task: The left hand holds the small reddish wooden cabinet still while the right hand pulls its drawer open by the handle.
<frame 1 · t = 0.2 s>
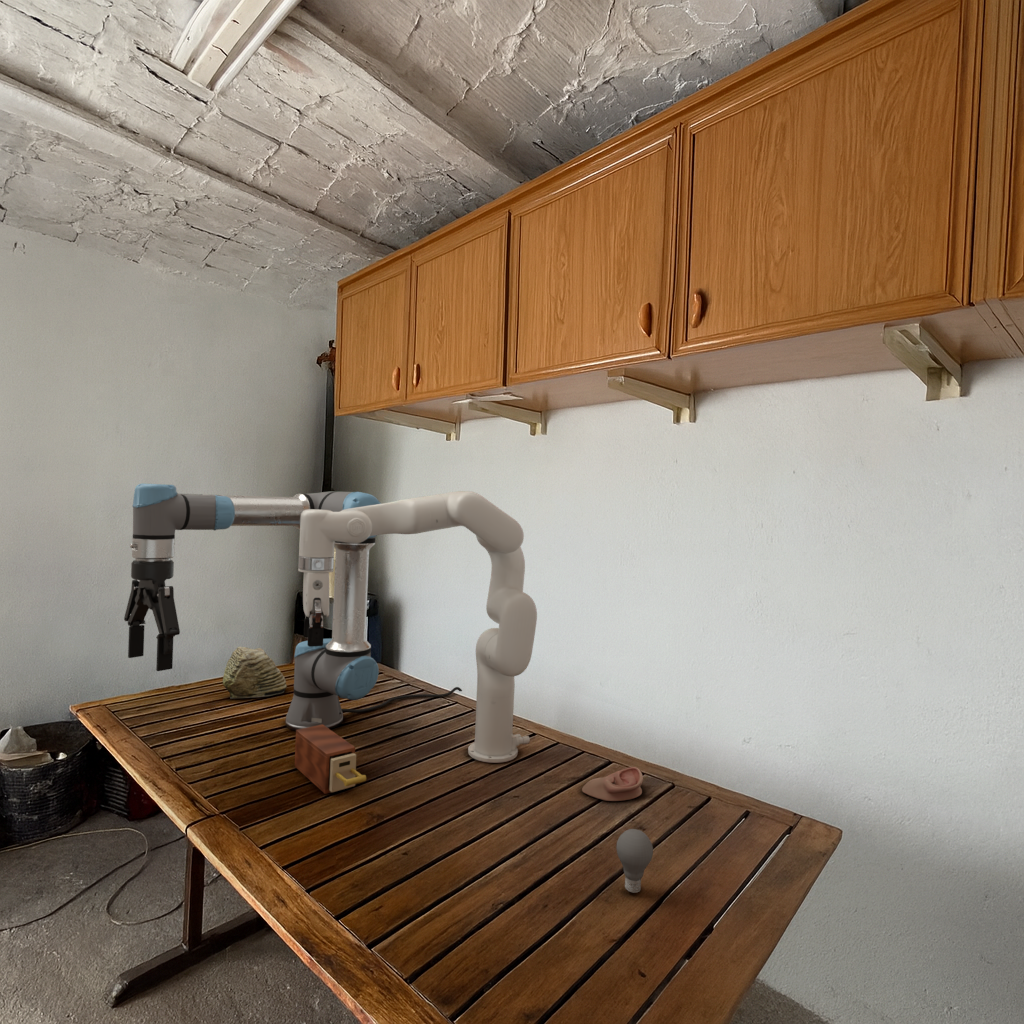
left hand: (149, 663, 129), 28 cm above the table, tool pointing down, fingers open, 13 cm apart
right hand: (313, 640, 142), 31 cm above the table, tool pointing down, fingers open, 9 cm apart
anatomical model: (612, 790, 142), on the table
fossil: (254, 694, 198), on the table
drawer: (334, 765, 140), point 4 cm above the table, slide at 0.7 cm
light bulb: (632, 891, 106), on the table
cabinet: (323, 775, 144), on the table
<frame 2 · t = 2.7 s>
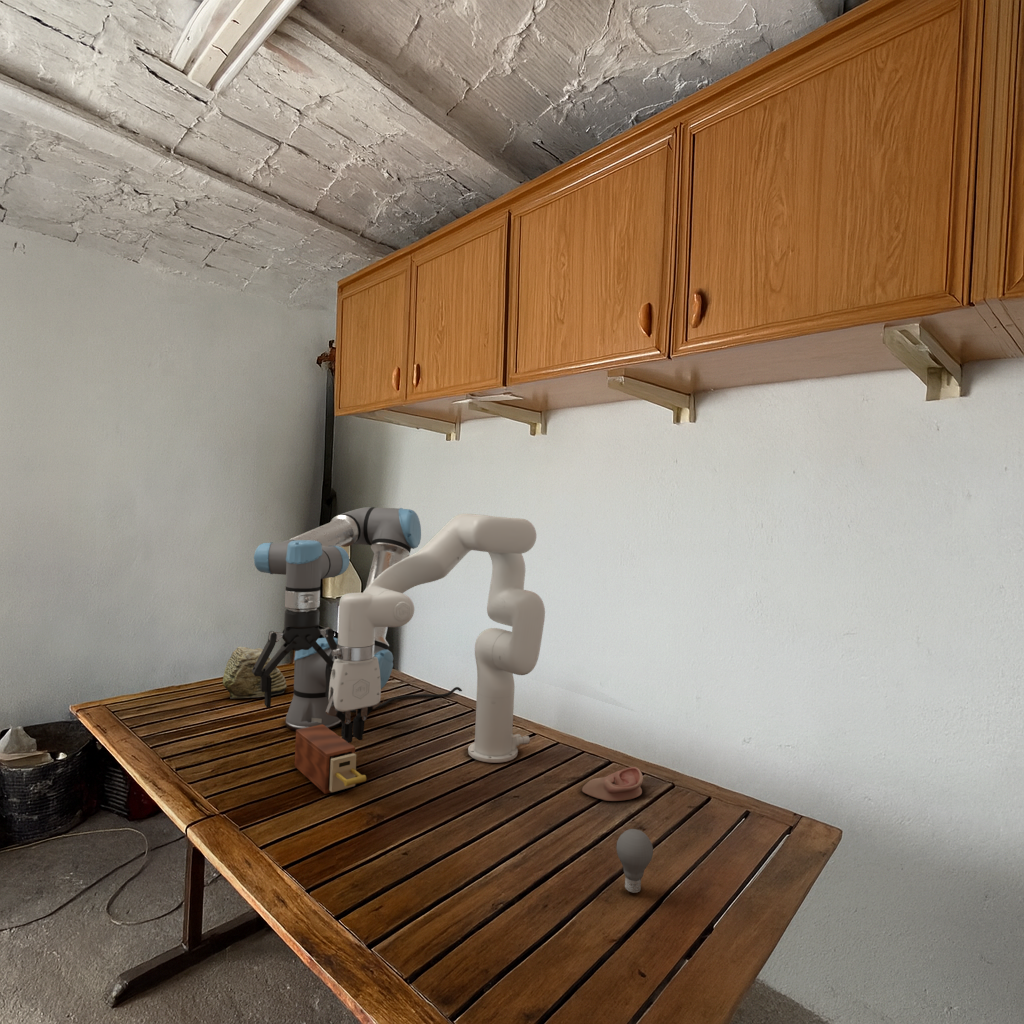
left hand: (298, 701, 144), 16 cm above the table, tool pointing down, fingers open, 13 cm apart
right hand: (352, 738, 133), 13 cm above the table, tool pointing down, fingers closed
nothing on the table moved.
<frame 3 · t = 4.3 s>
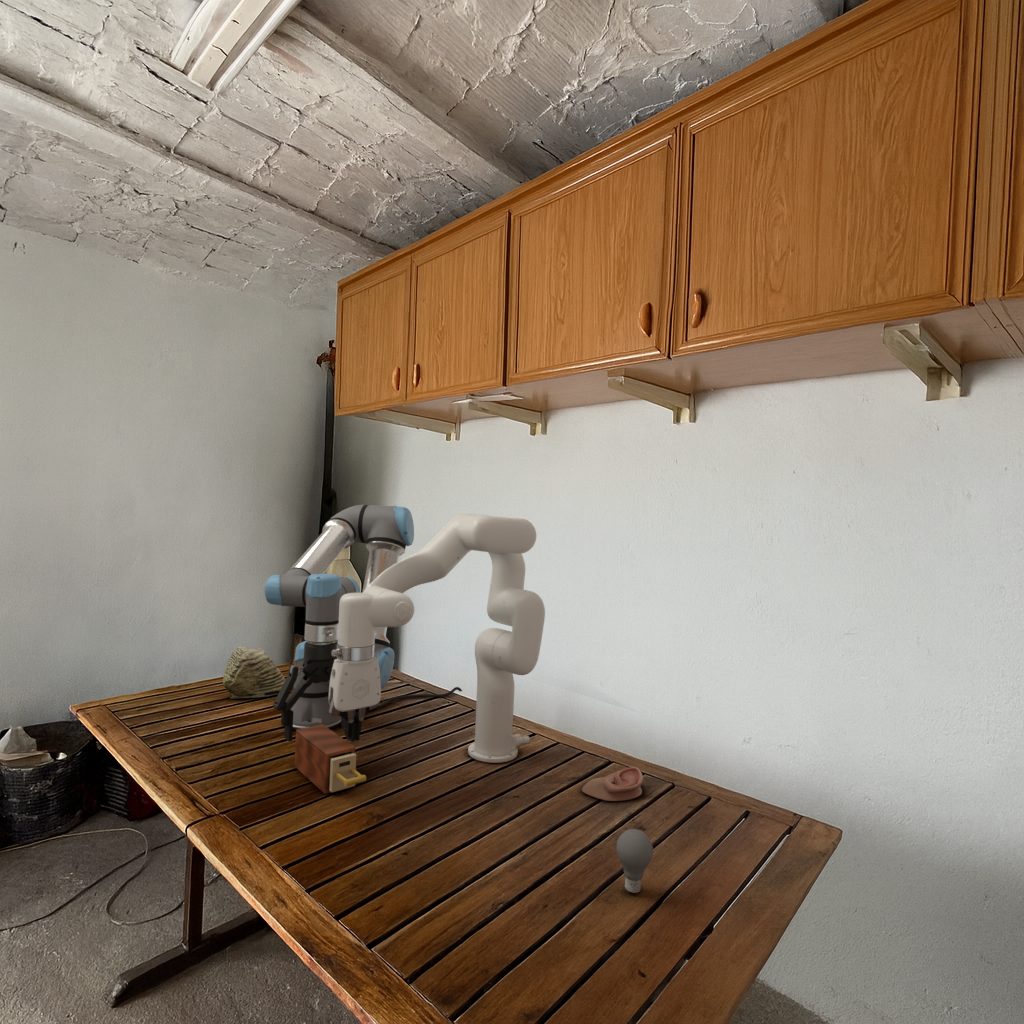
left hand: (317, 733, 146), 9 cm above the table, tool pointing down, fingers open, 13 cm apart
right hand: (352, 738, 133), 13 cm above the table, tool pointing down, fingers closed
nothing on the table moved.
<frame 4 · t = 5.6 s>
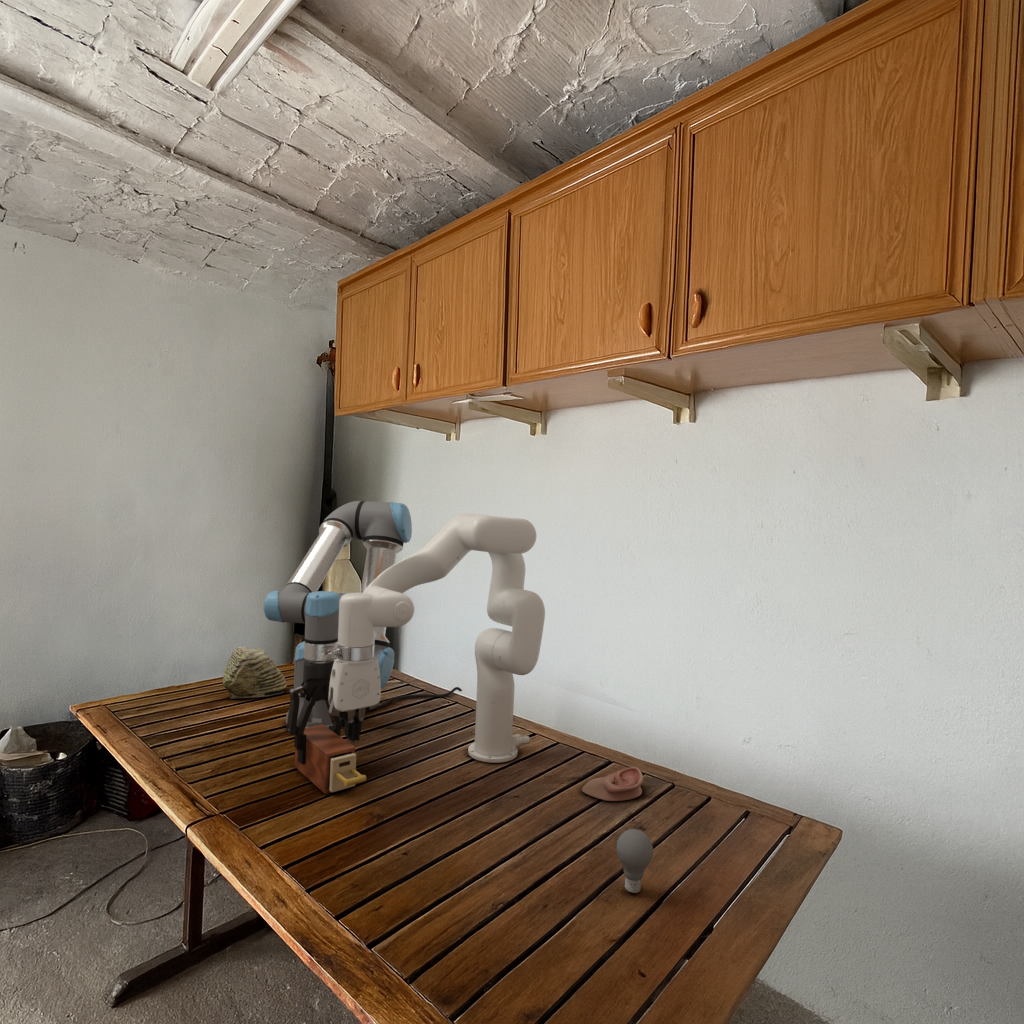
left hand: (316, 758, 146), 3 cm above the table, tool pointing down, fingers closed on cabinet, 7 cm apart
right hand: (352, 738, 133), 13 cm above the table, tool pointing down, fingers closed
cabinet: (323, 775, 144), on the table, touching left hand
everything else where it was.
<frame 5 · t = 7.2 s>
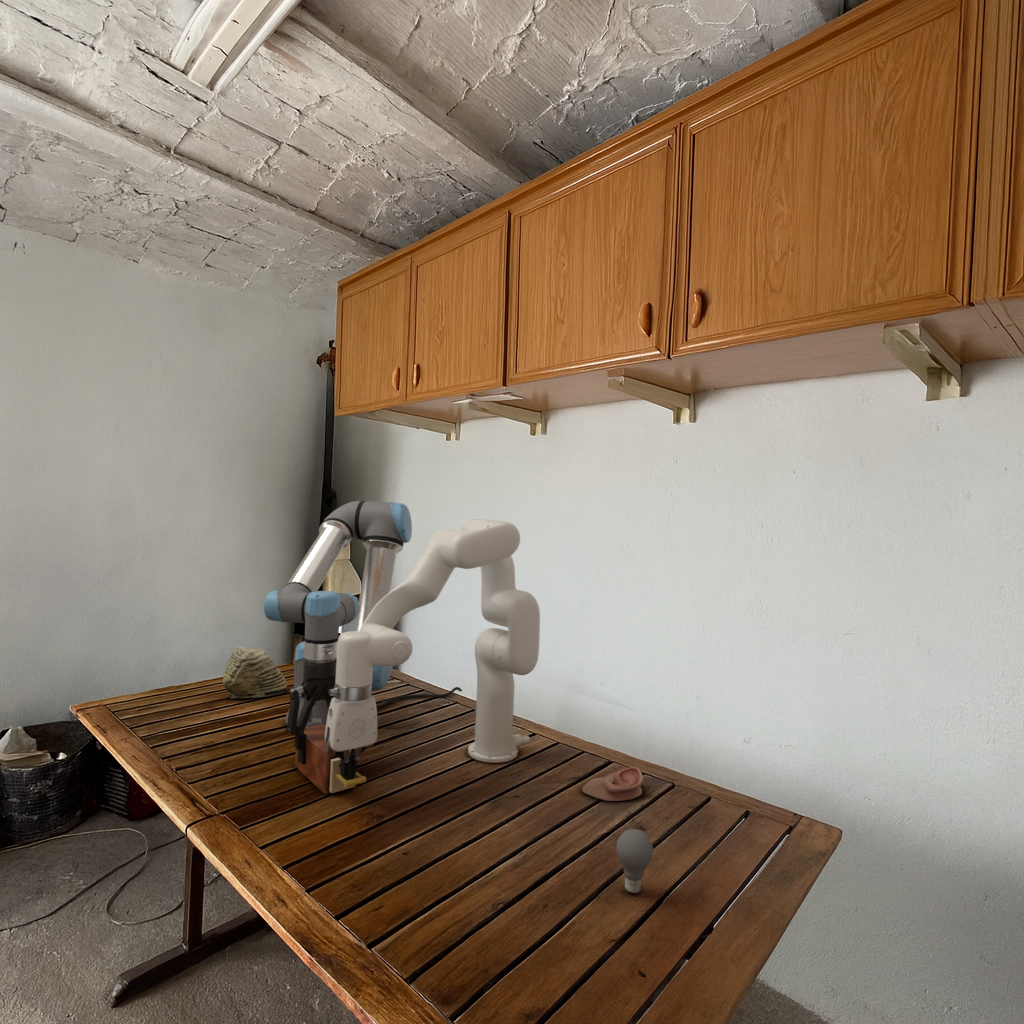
left hand: (317, 758, 146), 3 cm above the table, tool pointing down, fingers closed on cabinet, 7 cm apart
right hand: (348, 778, 133), 5 cm above the table, tool pointing down, fingers closed
drawer: (334, 765, 139), point 4 cm above the table, slide at 0.8 cm, touching right hand
cabinet: (323, 775, 144), on the table, touching left hand
everything else where it was.
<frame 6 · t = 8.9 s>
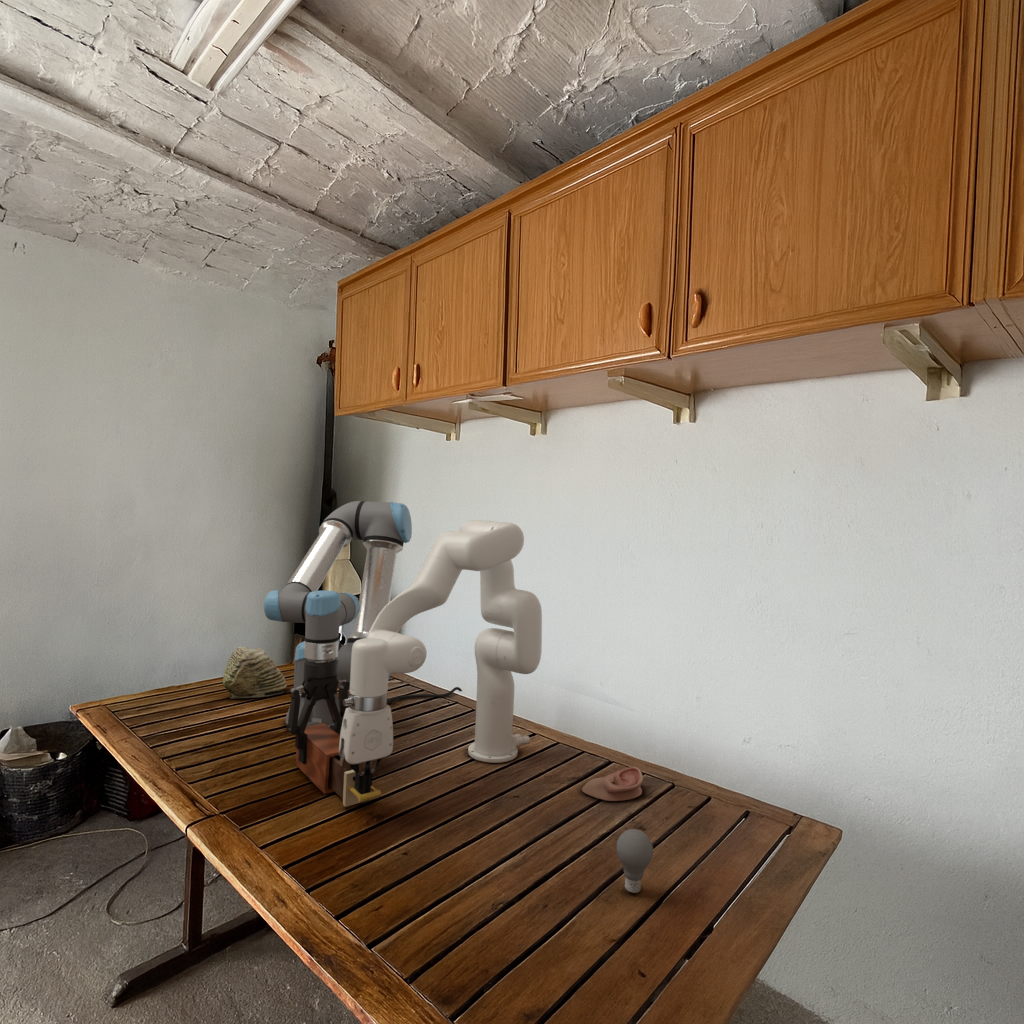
left hand: (318, 757, 146), 3 cm above the table, tool pointing down, fingers closed on cabinet, 7 cm apart
right hand: (363, 791, 128), 4 cm above the table, tool pointing down, fingers closed
drawer: (347, 777, 134), point 4 cm above the table, slide at 7.5 cm
cabinet: (323, 775, 144), on the table, touching left hand
everything else where it was.
when the left hand's fingers open (3 cm above the table, at t = 10.2 s): cabinet stays where it is, on the table.
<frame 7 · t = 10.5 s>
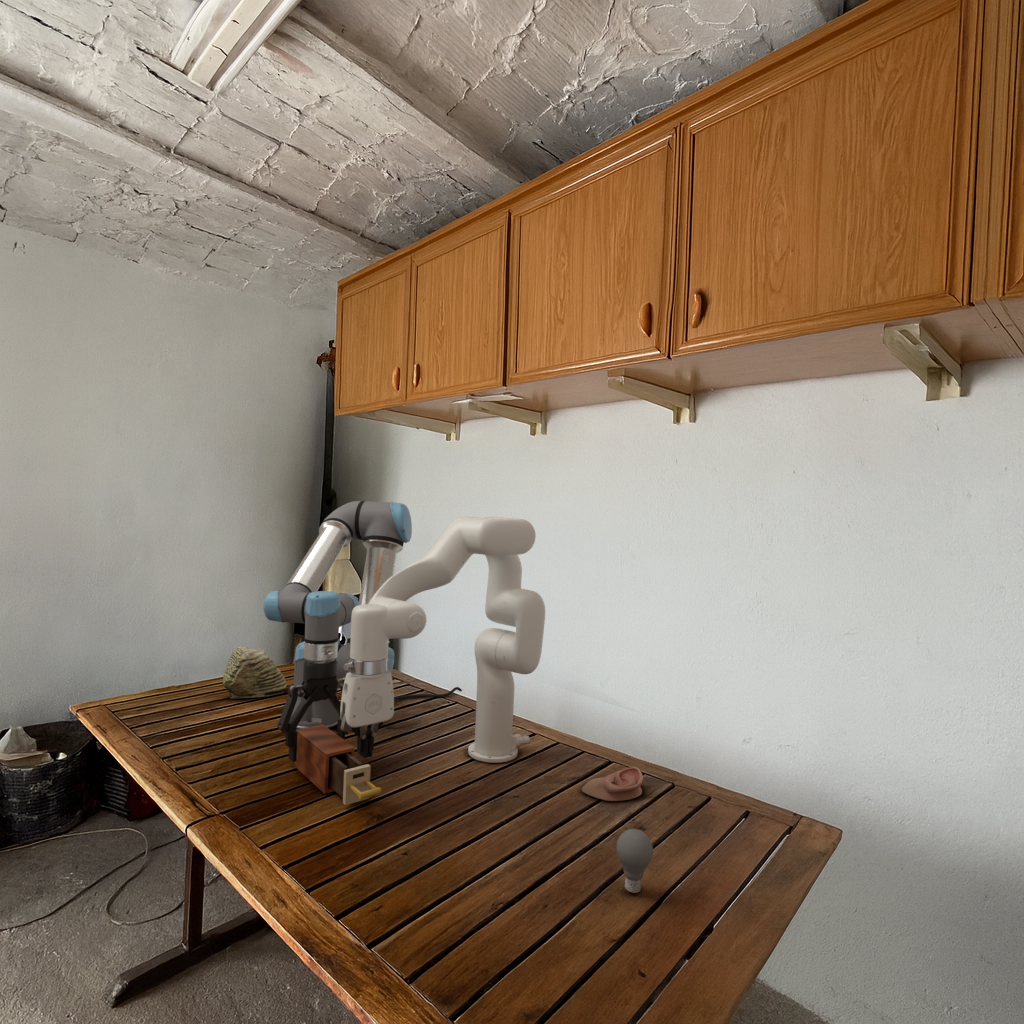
left hand: (317, 754, 146), 4 cm above the table, tool pointing down, fingers open, 11 cm apart
right hand: (364, 755, 129), 11 cm above the table, tool pointing down, fingers closed
cabinet: (323, 775, 144), on the table
everything else where it was.
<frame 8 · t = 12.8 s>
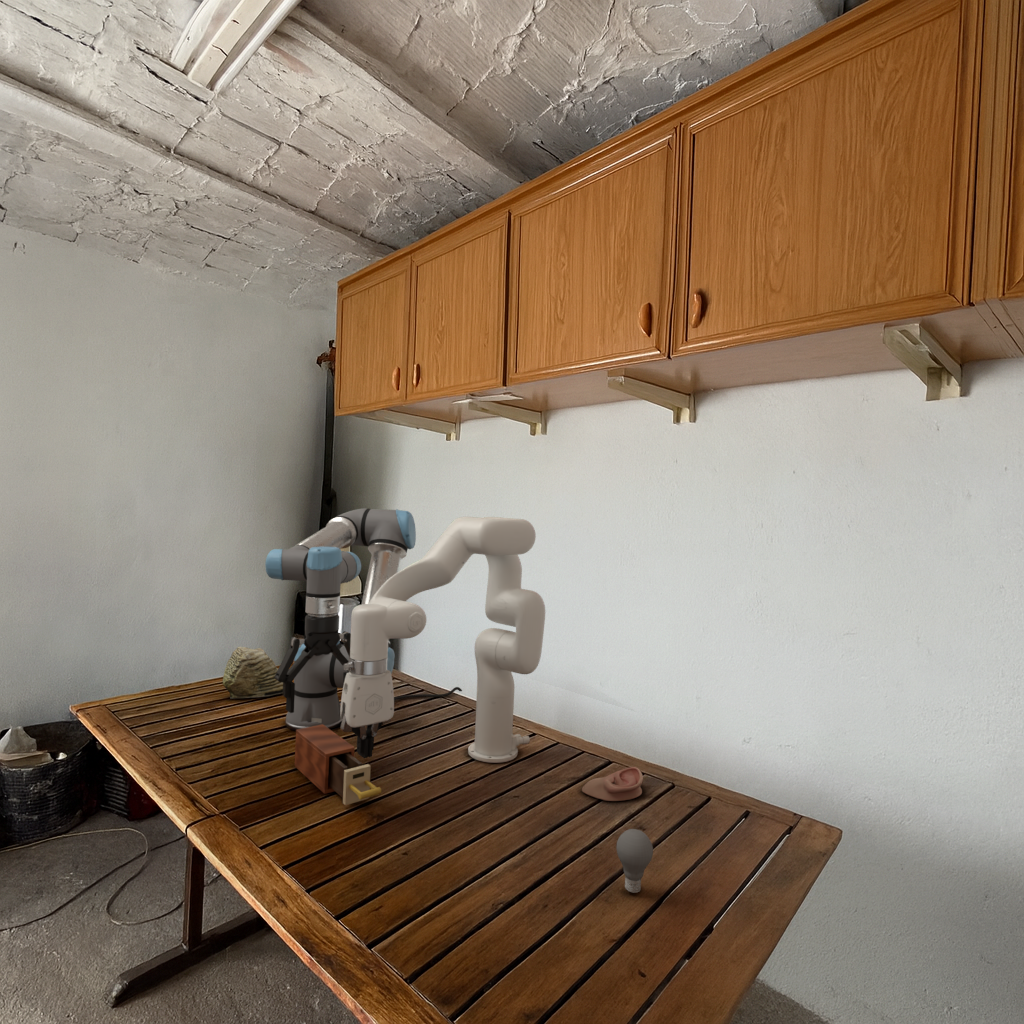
left hand: (319, 705, 146), 15 cm above the table, tool pointing down, fingers open, 13 cm apart
right hand: (364, 755, 129), 11 cm above the table, tool pointing down, fingers closed
nothing on the table moved.
at the end: drawer slide at 7.5 cm; cabinet tilted 0°; cabinet never tilted more than 2° during the clip; cabinet moved 0.0 cm from its start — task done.
